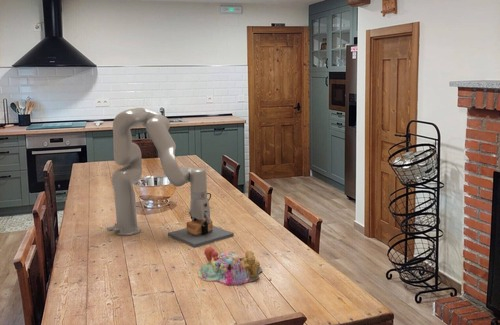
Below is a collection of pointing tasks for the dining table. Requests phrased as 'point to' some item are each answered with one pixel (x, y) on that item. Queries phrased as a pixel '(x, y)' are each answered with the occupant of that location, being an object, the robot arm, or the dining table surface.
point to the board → (200, 236)
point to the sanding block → (197, 227)
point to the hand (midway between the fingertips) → (200, 231)
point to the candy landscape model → (229, 268)
